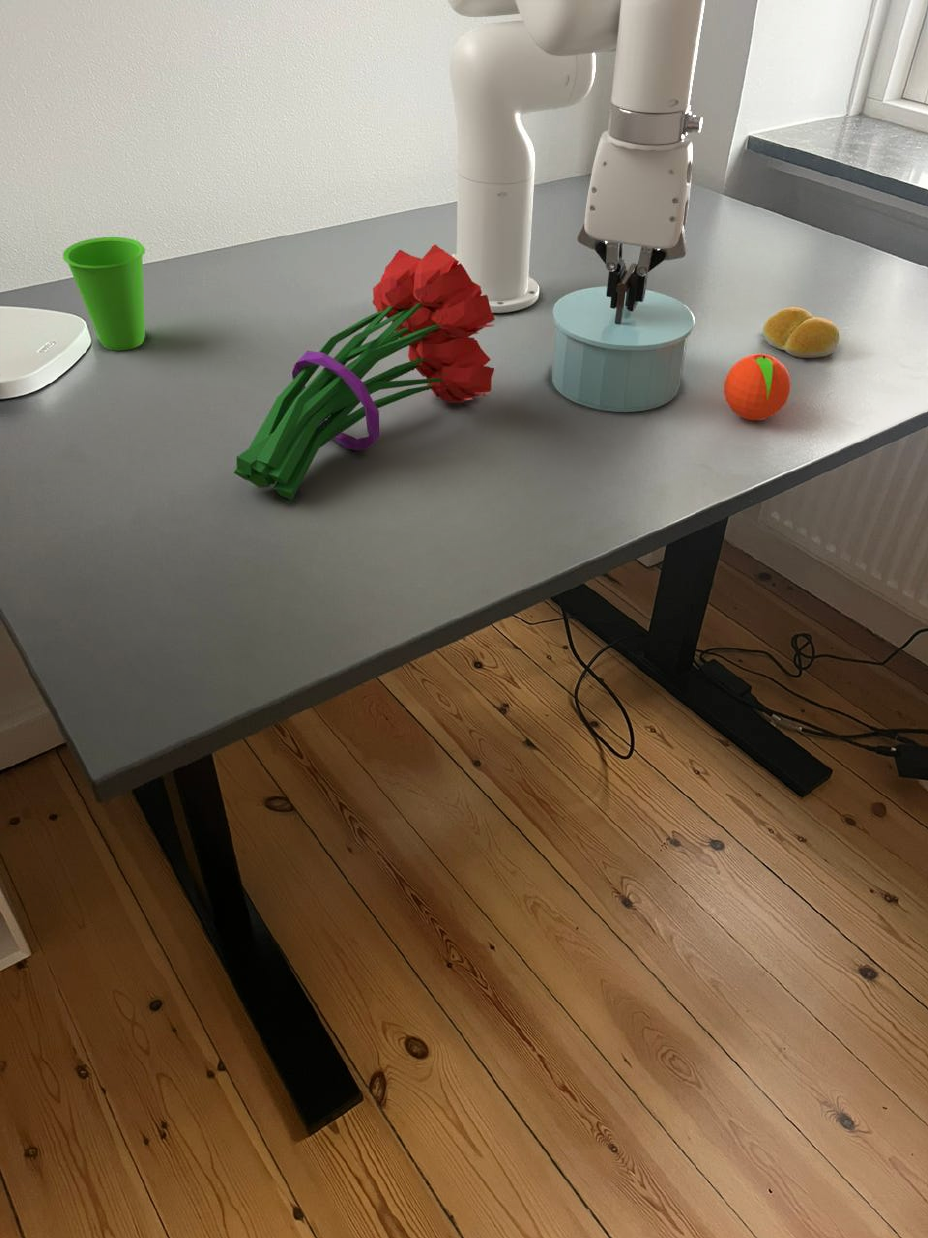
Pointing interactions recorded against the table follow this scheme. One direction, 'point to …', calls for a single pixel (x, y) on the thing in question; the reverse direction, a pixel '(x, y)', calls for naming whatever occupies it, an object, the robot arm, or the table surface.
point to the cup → (111, 288)
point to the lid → (623, 318)
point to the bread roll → (801, 333)
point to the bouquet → (438, 348)
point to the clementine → (757, 387)
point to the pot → (616, 374)
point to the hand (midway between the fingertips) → (624, 304)
